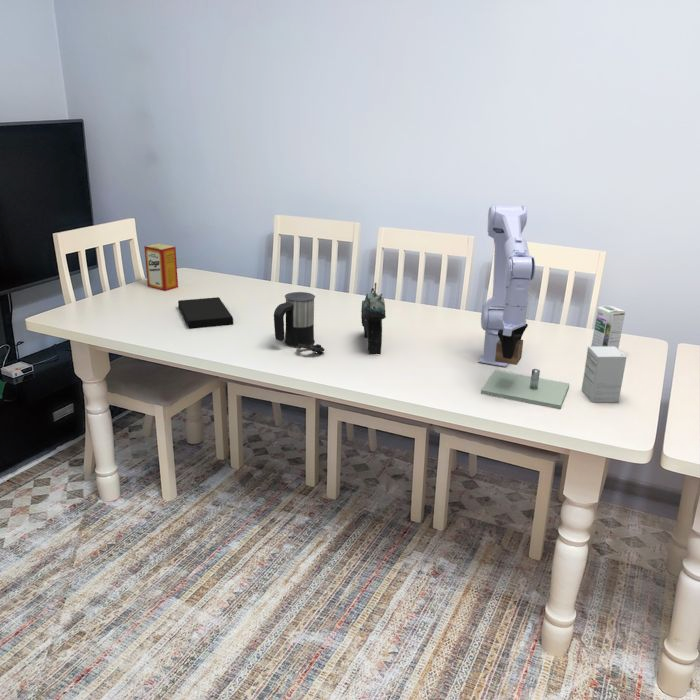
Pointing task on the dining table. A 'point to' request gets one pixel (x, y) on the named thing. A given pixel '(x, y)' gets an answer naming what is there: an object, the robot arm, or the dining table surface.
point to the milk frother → (297, 321)
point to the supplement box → (603, 374)
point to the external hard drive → (205, 313)
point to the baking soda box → (161, 266)
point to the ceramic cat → (373, 320)
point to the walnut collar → (516, 354)
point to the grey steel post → (534, 379)
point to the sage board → (525, 389)
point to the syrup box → (608, 327)
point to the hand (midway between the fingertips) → (510, 353)
